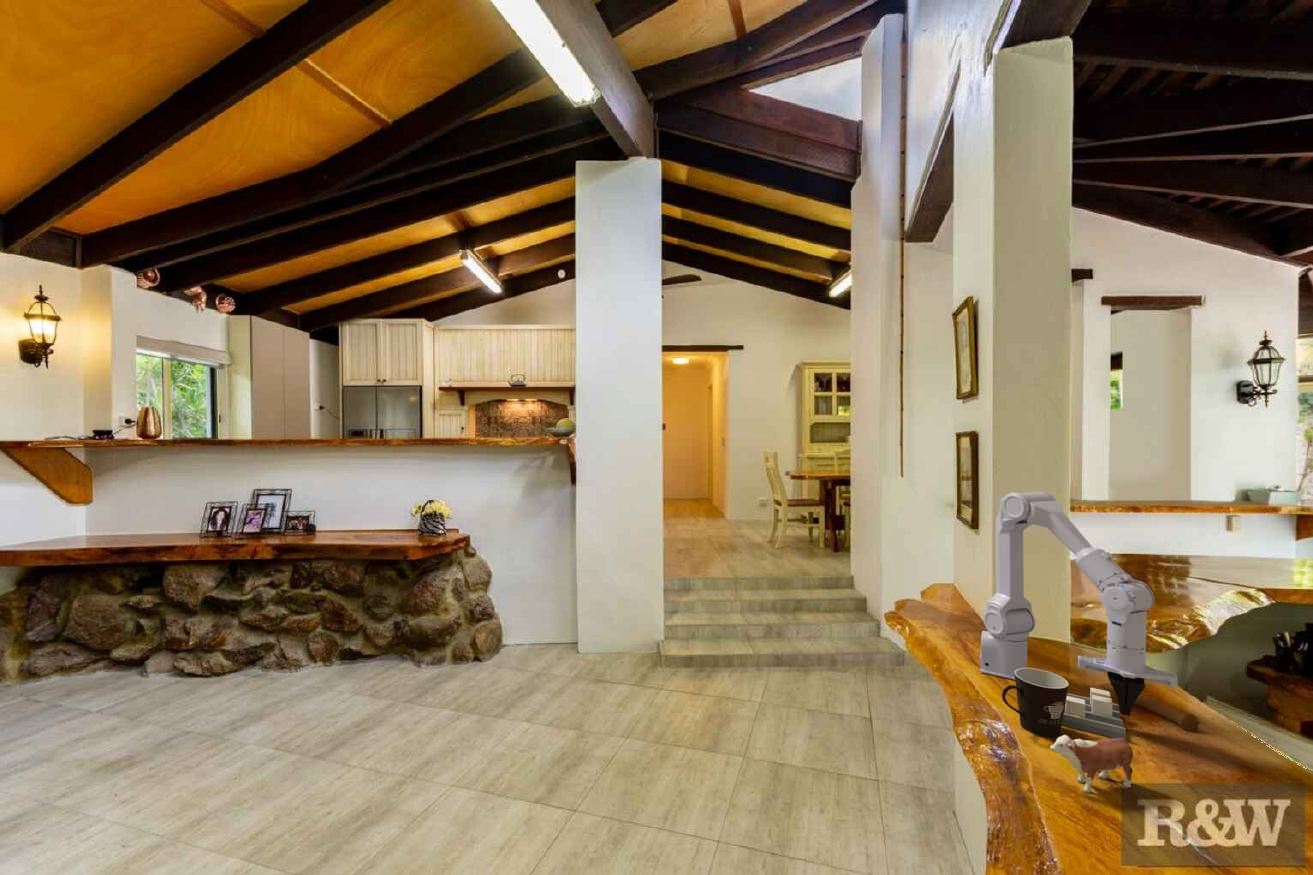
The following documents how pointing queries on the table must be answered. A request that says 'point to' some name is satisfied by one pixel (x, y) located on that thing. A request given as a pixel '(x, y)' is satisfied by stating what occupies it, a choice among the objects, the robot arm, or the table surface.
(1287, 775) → the table surface
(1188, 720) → the primitive tool
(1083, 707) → the tab
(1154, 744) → the table surface
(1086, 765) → the bull figurine
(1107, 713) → the tab
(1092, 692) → the tab
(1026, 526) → the robot arm
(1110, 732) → the switch board
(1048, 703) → the coffee mug
